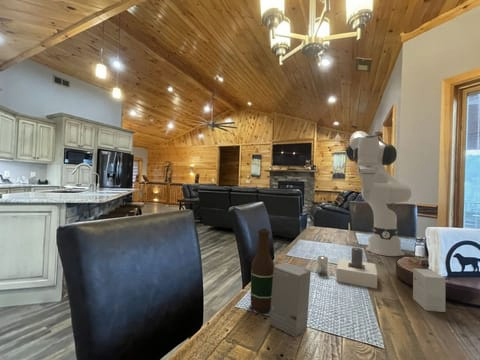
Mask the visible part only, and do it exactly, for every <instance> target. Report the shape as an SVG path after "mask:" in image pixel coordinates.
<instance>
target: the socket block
mask: <svg viewBox="0 0 480 360" xmlns="http://www.w3.org/2000/svg"><path fill="white" fill-rule="evenodd" d="M351 260H352V259H345V258H338V262H337V267H336V282H339V283H344V284H350V285H355V286H361V287H367V288H371V289H378V271H377V266H376V263H372V262H367V261H366V262H365V261H362V269H357V268H351Z"/></svg>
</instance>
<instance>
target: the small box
mask: <svg viewBox="0 0 480 360" xmlns="http://www.w3.org/2000/svg"><path fill="white" fill-rule="evenodd" d="M412 270H413V271H412V273H413V274H412V276H413V277H412V299H413V300H414V301H415V302H416V303H417V304H418V305H419V306H420V307H421V308H423V310H424V311H426V312H427V311H428V312H438V313H440V312H441V313H446V277H444V276H442V275H441V274H439V273H438V272H436V271H434V270H433V269H428V268H427V269H425V268H412Z"/></svg>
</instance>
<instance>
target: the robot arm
mask: <svg viewBox="0 0 480 360" xmlns="http://www.w3.org/2000/svg"><path fill="white" fill-rule="evenodd" d="M345 155H346V158H347V159H348V160H349V161H351V162H354V163H355V164H356V174H357V175H359V178H361V182H362V183H361V189H360V194H361V198H362V199H363V200H364V201H365V202H366V203H367V204H368V205H369V207H370V208H371V210H372V213H373V226H372V234H371V235H370V236H369V237H368V242H369V243H368V246H366V247H365V251H367V252H371V253H373V254H375V255H380V256H387V257H398V256H405V254H406V253H404V252H403V251H402V248H401V247H402V246H401V245H402V244H401V243H402V242H401V239H400V238H399V237H398V232H399V231H398V228H397V227H398V226H397V224H398V221H397V220H398V217H397V214H396V212H395V211H394V210H392V209H390V208H389V207H388V205H387V204H401V203H406V202H408V201H409V200H410V199H411V197H412V190H411V187H409V186H408V184H406V183H405V184H404V183H402V182H400V181H398V180H397V179H395V178H394V177H393V176H392V175H391V174H389V172H388V170H387V169H386V167H385V166H391V165H392V164H394V163H395V162H396V160H397V155H398V154H397V148H396V147H395V146H394V145H393V144H391V143H386V142H384V141H383V138H382V137H381V136H379V135H378V134H370V135H369V134H368V133H367V132H365V131H363V130H357V131H354V132H353V133H352V134H351V135H350V137H349V144H347V147H346V148H345Z"/></svg>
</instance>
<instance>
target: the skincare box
mask: <svg viewBox="0 0 480 360" xmlns="http://www.w3.org/2000/svg"><path fill="white" fill-rule="evenodd" d="M311 273H312V271H311V270H309V269H307V268H304V267H301V266H299V265H295V264H291V263H289V262H283V263H280V264H277V265H274V270H273V283H272V296H271V308H270V312H269V325H270V326H272V327H274V328H276V329H278V330H279V331H282V332H285V333H286V334H288V335H290V336H292V337H294V338H297V337H298V336H299V335H300V334H301V333H302V332H303V331H305V330H306V329H307V328H308V319H309V318H308V316H309V314H308V313H309V301H310V300H309V299H310V289H311V288H310V284H311V276H312V275H311Z"/></svg>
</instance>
